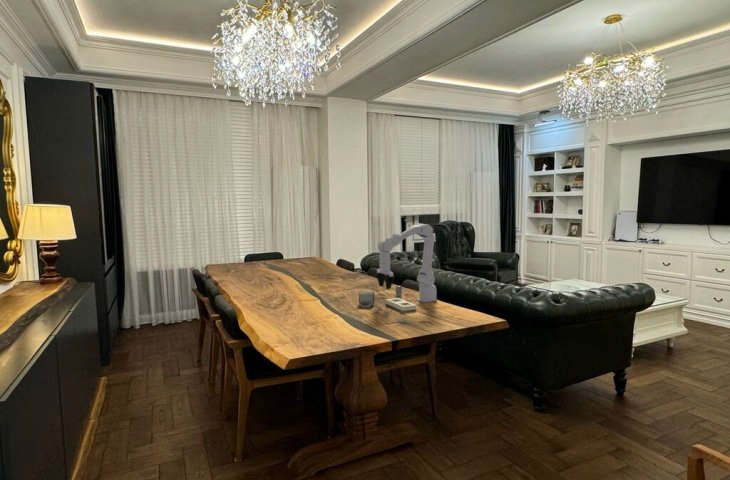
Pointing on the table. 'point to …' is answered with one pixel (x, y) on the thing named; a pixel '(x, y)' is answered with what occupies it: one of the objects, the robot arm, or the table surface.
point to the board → (400, 305)
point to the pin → (399, 292)
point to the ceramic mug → (366, 299)
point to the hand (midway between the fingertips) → (384, 287)
